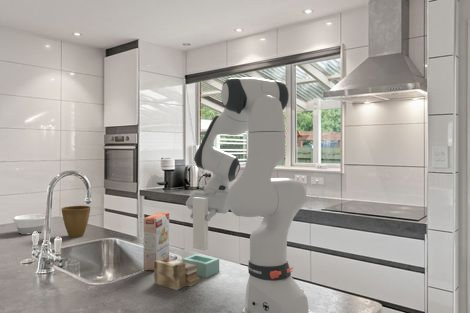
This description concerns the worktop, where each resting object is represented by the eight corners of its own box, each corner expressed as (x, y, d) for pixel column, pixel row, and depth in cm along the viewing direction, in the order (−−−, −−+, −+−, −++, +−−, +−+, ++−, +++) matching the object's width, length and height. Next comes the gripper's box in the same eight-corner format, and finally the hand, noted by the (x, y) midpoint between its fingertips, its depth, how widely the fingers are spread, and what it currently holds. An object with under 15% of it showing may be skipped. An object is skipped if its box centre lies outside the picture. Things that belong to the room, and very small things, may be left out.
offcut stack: (199, 282, 133) (199, 265, 133) (189, 286, 129) (189, 269, 129) (171, 274, 141) (171, 259, 141) (162, 278, 137) (161, 262, 137)
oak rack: (185, 285, 130) (185, 263, 129) (176, 290, 126) (176, 266, 126) (163, 279, 136) (163, 258, 136) (154, 283, 132) (154, 261, 132)
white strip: (208, 249, 144) (207, 198, 143) (204, 250, 142) (204, 198, 141) (196, 246, 147) (196, 196, 146) (193, 248, 145) (192, 197, 145)
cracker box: (157, 271, 145) (156, 218, 145) (143, 270, 147) (142, 218, 146) (170, 260, 159) (169, 212, 159) (157, 259, 160) (156, 211, 160)
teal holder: (219, 271, 144) (219, 258, 144) (206, 277, 138) (205, 264, 138) (196, 266, 151) (196, 253, 151) (182, 271, 145) (182, 258, 145)
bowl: (46, 227, 228) (45, 212, 228) (50, 233, 214) (49, 216, 213) (12, 231, 218) (12, 215, 218) (14, 237, 204) (14, 220, 203)
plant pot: (66, 240, 195) (65, 210, 195) (58, 235, 207) (58, 207, 206) (94, 236, 205) (94, 207, 204) (86, 231, 216) (85, 204, 216)
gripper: (192, 184, 155) (176, 211, 148) (231, 187, 143) (215, 216, 136) (199, 194, 159) (183, 220, 152) (238, 197, 147) (223, 226, 140)
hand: (199, 218), depth 144 cm, fingers closed on white strip, 6 cm apart
